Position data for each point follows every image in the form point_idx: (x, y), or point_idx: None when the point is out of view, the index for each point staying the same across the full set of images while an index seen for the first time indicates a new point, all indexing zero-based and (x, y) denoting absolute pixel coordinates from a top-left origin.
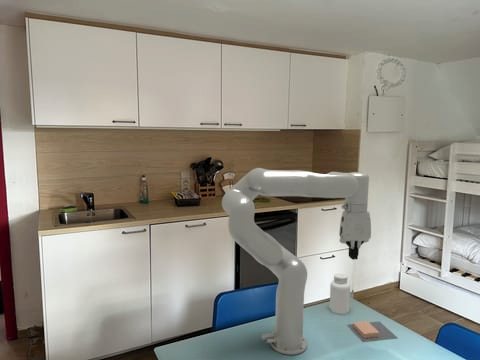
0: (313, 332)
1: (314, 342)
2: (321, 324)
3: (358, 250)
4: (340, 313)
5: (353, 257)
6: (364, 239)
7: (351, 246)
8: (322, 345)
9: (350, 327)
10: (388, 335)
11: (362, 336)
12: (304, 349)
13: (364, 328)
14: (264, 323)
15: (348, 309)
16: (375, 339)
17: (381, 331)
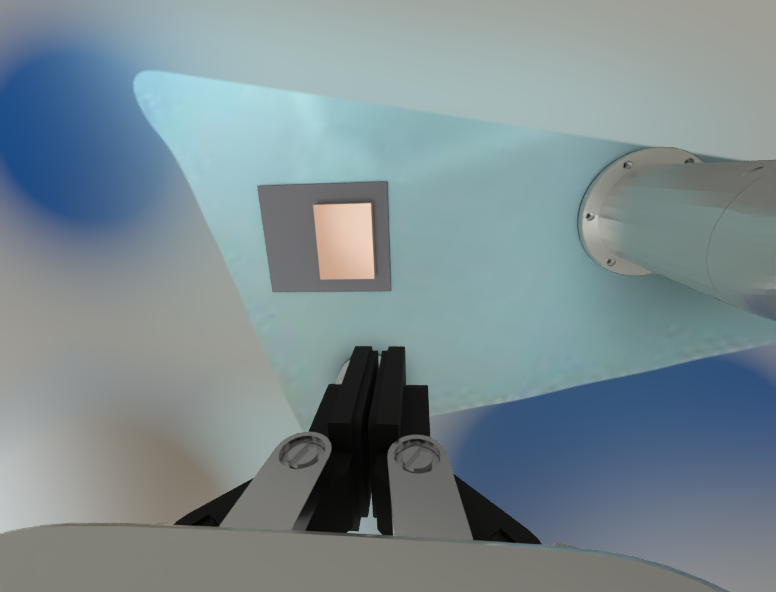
0: (519, 270)
1: (545, 212)
2: (469, 311)
3: (314, 423)
4: (379, 356)
5: (403, 357)
6: (114, 539)
7: (441, 467)
8: (527, 190)
9: (385, 273)
10: (282, 207)
11: (372, 211)
12: (611, 165)
13: (352, 236)
14: (656, 348)
15: (347, 364)
16: (336, 190)
17: (294, 233)
